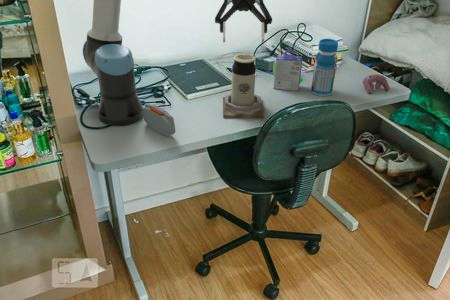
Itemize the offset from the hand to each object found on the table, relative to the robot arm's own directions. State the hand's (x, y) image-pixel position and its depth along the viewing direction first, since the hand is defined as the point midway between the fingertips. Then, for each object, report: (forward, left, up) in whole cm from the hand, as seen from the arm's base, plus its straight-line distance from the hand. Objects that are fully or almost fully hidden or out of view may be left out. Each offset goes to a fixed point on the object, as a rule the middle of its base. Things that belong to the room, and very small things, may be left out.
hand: (243, 41), depth 156 cm
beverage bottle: (+31, +4, -21) cm, 38 cm away
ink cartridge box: (+18, +8, -21) cm, 29 cm away
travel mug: (0, -10, -20) cm, 23 cm away
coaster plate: (0, -10, -21) cm, 23 cm away
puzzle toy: (+17, +20, -21) cm, 34 cm away
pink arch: (+52, +6, -21) cm, 57 cm away
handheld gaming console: (-28, -26, -21) cm, 44 cm away
